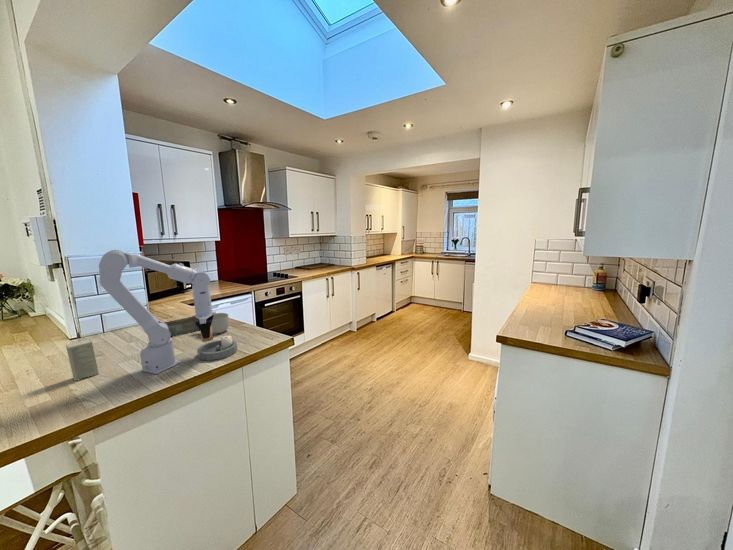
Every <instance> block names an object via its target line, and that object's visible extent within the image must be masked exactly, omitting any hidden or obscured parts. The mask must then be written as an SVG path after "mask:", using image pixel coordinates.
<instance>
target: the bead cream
mask: <svg viewBox="0 0 733 550" xmlns="http://www.w3.org/2000/svg"><path fill="white" fill-rule="evenodd" d="M220 340H221V345H222V350H225V349H228V348H230V347H231V346H232V345H233V344H232V340H233V337H232V335H224V336H221V337H220Z"/></svg>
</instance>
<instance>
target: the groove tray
mask: <svg viewBox="0 0 733 550" xmlns="http://www.w3.org/2000/svg"><path fill="white" fill-rule="evenodd" d="M232 344H233V345H232V346H231V347H230V348H228V349H225V350H222V345H221V339H217V340H211V341H208V342H205V343H204V344H202V345H200V346H199V347H198V348H197V352H196V353H197V356H198V359H199V360H202V361H205V360H211V361H216V360H215V359H218V360H221V359H220V358H223V359H225V358H224V357H226V358H228V357H227V356H229V355H231V354H233V353H234V354H236V353H237V352H238V342H237V341H236V340H234V339H232ZM236 351H237V352H236ZM235 352H236V353H235ZM234 354H233V355H234ZM231 356H232V355H231ZM229 357H230V356H229Z"/></svg>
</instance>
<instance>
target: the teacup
mask: <svg viewBox="0 0 733 550" xmlns="http://www.w3.org/2000/svg"><path fill="white" fill-rule="evenodd" d="M229 318H230V317H229V313H227V312H216V314H214V317H213V319H212V320H213V321H212V323H211V326H212V334H213V335H217V334H218V333H219V334H223V333H224V332H226V331H227V330H228V329H229V326H230V319H229Z"/></svg>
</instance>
